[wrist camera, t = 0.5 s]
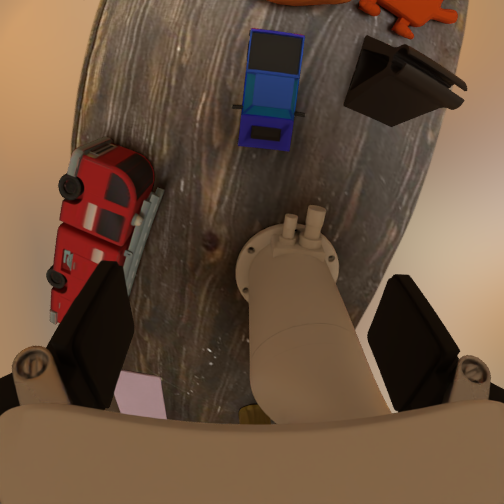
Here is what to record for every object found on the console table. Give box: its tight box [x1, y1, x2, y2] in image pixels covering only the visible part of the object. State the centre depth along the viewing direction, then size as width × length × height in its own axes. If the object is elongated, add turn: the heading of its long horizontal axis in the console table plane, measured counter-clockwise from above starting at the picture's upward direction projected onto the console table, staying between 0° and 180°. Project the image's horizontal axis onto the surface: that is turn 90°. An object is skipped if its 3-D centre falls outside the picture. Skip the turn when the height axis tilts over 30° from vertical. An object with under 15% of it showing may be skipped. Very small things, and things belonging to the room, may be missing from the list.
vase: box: [239, 405, 271, 425], centre depth 46 cm, size 6×6×14 cm
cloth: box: [114, 370, 167, 419], centre depth 51 cm, size 16×10×1 cm, turn 173°
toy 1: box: [46, 137, 164, 324], centre depth 32 cm, size 8×22×10 cm
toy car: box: [232, 28, 305, 151], centre depth 26 cm, size 7×12×5 cm, turn 174°
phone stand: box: [344, 35, 467, 127], centre depth 22 cm, size 9×6×12 cm, turn 163°
